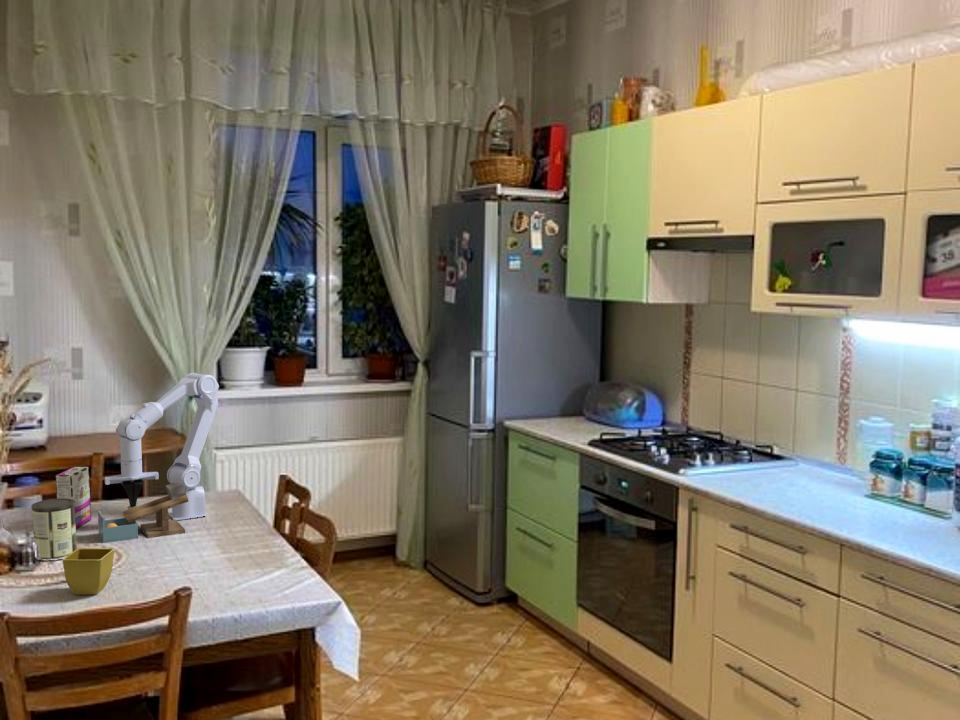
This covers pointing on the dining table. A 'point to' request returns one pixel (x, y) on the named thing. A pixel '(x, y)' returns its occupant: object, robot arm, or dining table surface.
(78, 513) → the candy bar box
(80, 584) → the flower pot
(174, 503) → the tipping chute
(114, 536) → the blue open bin
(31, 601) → the dining table surface
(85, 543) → the dining table surface
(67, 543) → the coffee can
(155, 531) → the chute stand
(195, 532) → the dining table surface
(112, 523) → the ball
